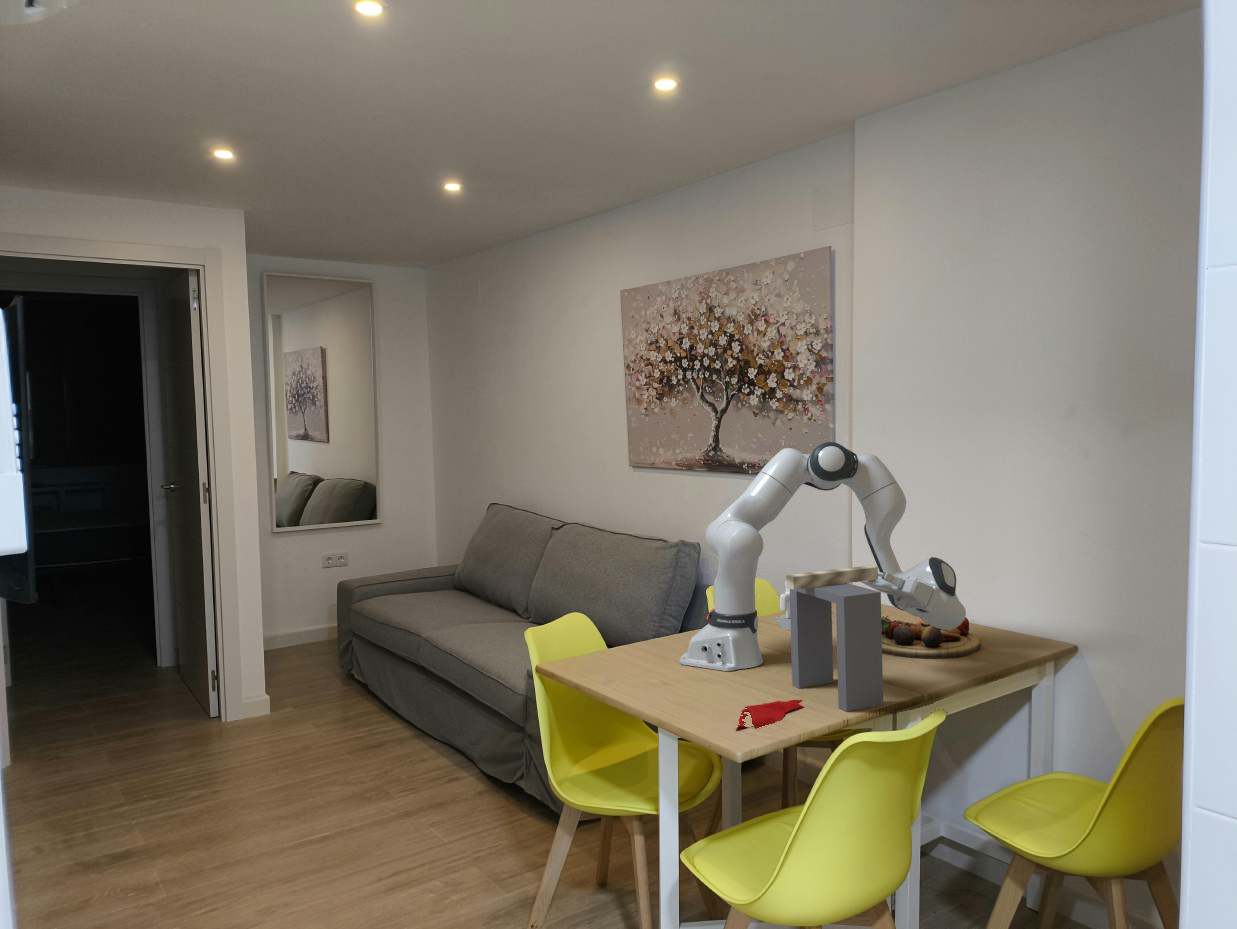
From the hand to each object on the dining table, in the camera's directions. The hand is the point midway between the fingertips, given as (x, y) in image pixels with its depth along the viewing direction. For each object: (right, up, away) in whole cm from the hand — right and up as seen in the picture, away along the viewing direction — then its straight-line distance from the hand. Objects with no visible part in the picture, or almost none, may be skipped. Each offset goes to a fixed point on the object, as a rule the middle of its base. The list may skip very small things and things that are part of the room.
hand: (871, 572), depth 210 cm
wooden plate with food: (+25, -26, +36) cm, 51 cm away
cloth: (-29, -30, -18) cm, 45 cm away
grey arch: (-10, -28, -6) cm, 31 cm away
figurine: (-8, -25, +59) cm, 65 cm away
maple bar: (-10, -2, -4) cm, 11 cm away
